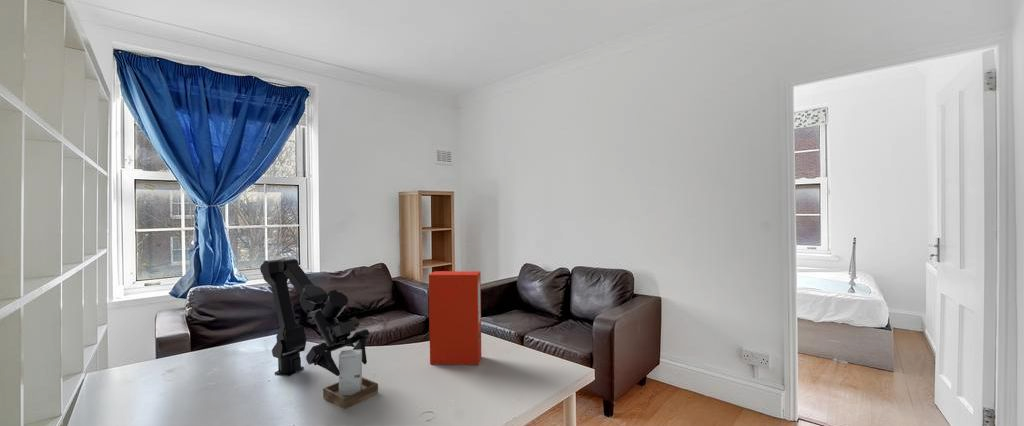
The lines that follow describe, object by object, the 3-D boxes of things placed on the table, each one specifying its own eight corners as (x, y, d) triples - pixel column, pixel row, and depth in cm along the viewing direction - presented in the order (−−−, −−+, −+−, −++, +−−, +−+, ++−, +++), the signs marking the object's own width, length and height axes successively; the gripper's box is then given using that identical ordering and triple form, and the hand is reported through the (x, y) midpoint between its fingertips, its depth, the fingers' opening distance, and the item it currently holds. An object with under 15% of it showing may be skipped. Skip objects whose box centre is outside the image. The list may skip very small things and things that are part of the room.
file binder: (436, 355, 147) (434, 270, 146) (481, 356, 146) (480, 270, 145) (430, 364, 139) (428, 275, 138) (478, 365, 138) (476, 275, 137)
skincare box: (338, 396, 115) (337, 356, 114) (341, 389, 119) (340, 350, 119) (360, 394, 116) (359, 354, 116) (362, 387, 121) (362, 348, 120)
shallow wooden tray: (323, 398, 116) (323, 388, 116) (356, 383, 125) (356, 374, 125) (344, 409, 110) (344, 398, 110) (378, 393, 119) (377, 383, 119)
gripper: (310, 319, 111) (335, 365, 106) (366, 303, 127) (390, 343, 121) (295, 341, 115) (319, 387, 110) (351, 324, 131) (373, 363, 126)
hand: (352, 369), depth 117 cm, fingers open, 9 cm apart
